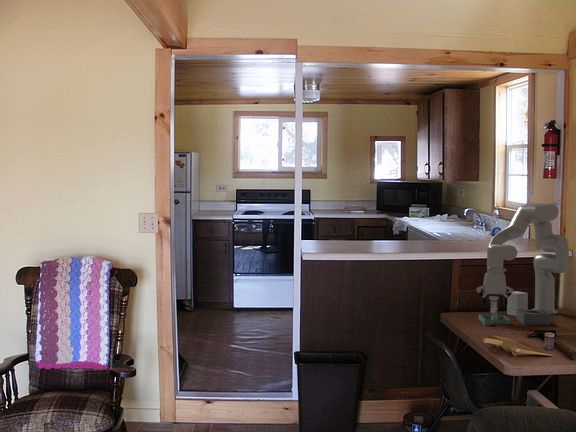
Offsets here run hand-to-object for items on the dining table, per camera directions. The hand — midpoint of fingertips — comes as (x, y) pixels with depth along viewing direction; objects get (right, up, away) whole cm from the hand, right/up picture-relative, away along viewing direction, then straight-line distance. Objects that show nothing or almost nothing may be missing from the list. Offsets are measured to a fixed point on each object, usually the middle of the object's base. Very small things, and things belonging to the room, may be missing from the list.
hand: (494, 305), depth 271 cm
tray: (0, -9, 0) cm, 8 cm away
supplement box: (+18, -8, +16) cm, 25 cm away
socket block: (+18, -9, -2) cm, 20 cm away
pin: (0, -8, 0) cm, 8 cm away
